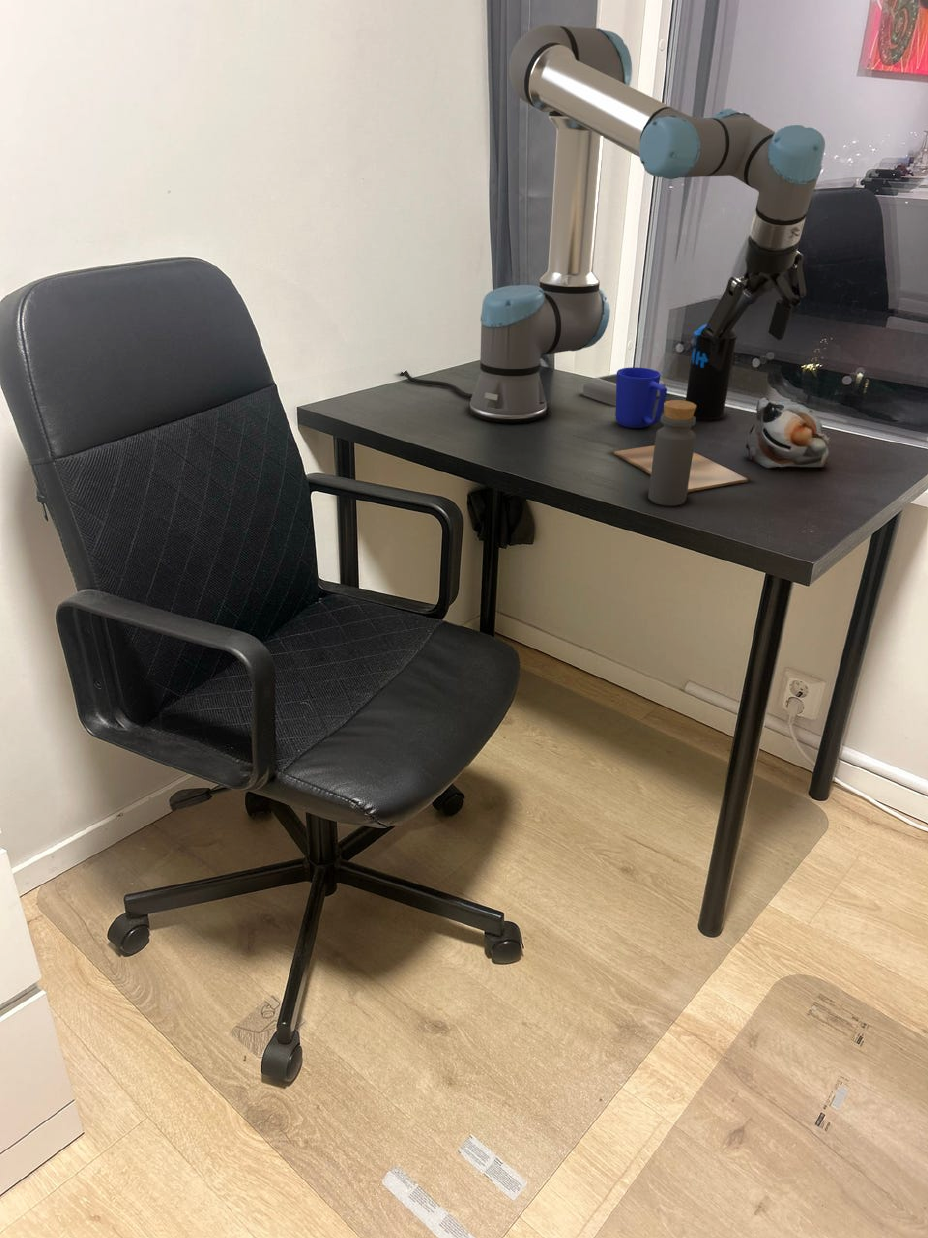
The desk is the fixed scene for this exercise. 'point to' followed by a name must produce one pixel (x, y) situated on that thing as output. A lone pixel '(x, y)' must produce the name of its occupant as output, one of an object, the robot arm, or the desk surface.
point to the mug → (638, 397)
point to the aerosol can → (709, 378)
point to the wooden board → (700, 475)
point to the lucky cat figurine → (787, 436)
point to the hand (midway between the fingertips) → (745, 350)
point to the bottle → (673, 454)
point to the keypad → (605, 389)
